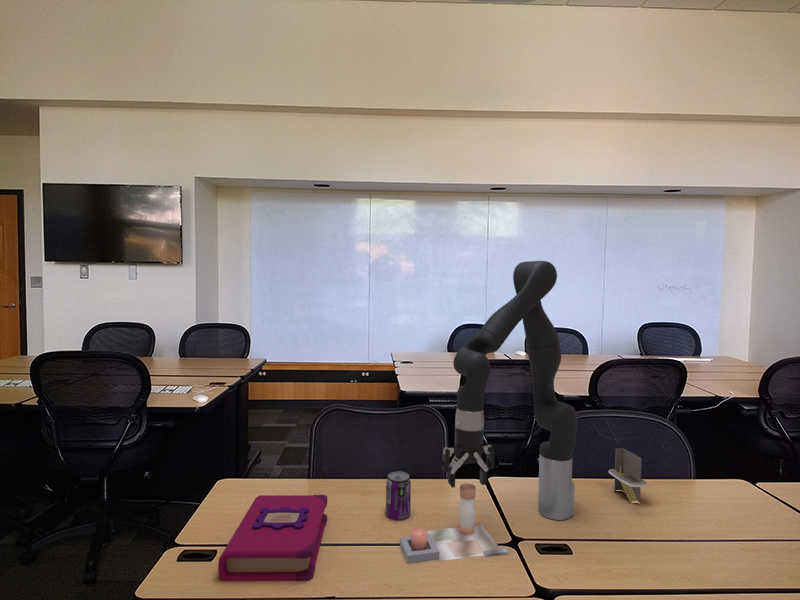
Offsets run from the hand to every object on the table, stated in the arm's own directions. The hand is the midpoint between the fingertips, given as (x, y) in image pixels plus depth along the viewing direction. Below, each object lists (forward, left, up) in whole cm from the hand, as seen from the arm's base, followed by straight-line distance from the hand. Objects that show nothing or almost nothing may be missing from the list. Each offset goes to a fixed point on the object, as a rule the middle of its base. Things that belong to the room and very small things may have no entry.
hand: (467, 485), depth 123 cm
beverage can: (+16, -13, -14) cm, 25 cm away
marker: (0, 0, -13) cm, 13 cm away
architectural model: (-58, -10, -14) cm, 61 cm away
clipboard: (+3, +4, -14) cm, 14 cm away
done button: (+15, +6, -12) cm, 20 cm away
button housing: (+15, +6, -14) cm, 21 cm away
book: (+49, -5, -14) cm, 51 cm away
